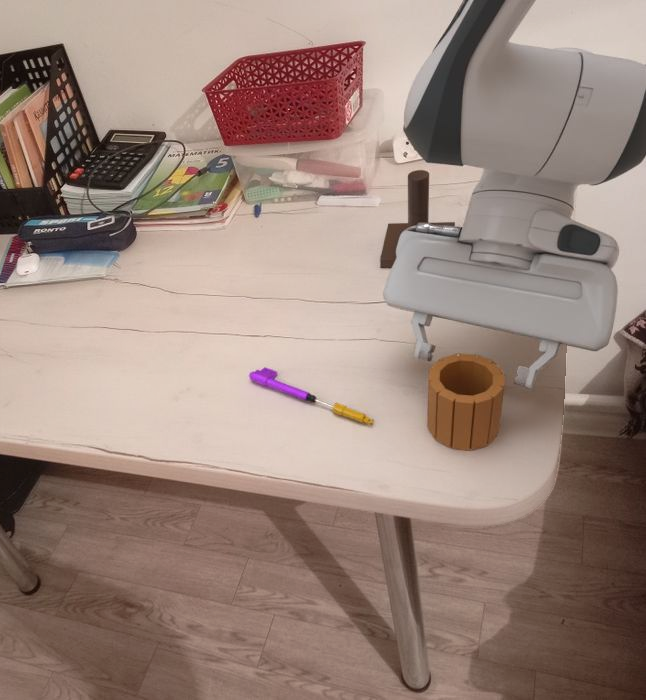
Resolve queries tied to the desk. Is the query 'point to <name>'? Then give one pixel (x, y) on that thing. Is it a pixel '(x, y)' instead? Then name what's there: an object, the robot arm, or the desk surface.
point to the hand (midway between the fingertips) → (470, 372)
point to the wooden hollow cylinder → (465, 401)
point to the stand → (409, 215)
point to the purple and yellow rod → (303, 394)
